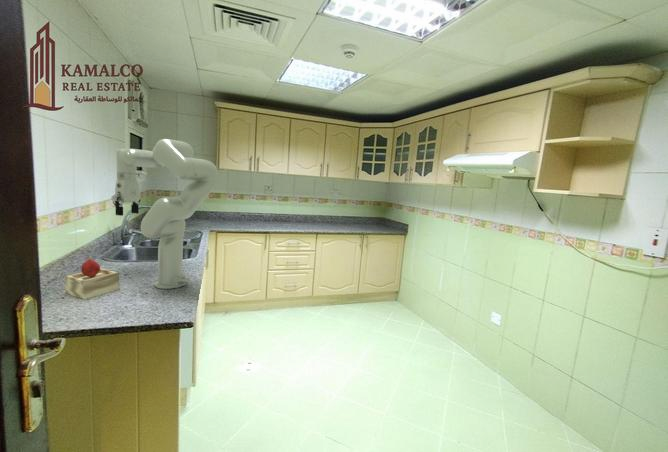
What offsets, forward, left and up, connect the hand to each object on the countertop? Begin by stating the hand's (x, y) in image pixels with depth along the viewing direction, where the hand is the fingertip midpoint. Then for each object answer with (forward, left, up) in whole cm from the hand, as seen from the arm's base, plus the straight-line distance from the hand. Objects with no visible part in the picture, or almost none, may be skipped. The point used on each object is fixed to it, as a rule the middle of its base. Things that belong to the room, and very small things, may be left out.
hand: (127, 214), depth 145 cm
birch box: (-4, +24, -29) cm, 38 cm away
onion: (-4, +24, -23) cm, 33 cm away
